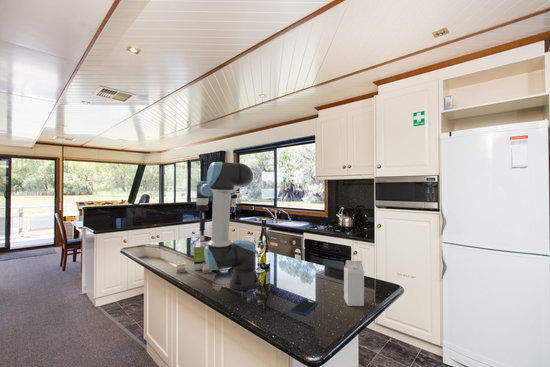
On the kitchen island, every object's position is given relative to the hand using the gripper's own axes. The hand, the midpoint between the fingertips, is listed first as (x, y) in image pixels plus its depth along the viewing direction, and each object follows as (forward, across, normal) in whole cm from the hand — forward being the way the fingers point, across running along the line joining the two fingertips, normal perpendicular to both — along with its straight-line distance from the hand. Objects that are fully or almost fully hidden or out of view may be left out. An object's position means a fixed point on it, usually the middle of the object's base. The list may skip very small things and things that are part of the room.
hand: (202, 240), depth 169 cm
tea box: (+17, 0, 0) cm, 17 cm away
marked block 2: (+17, -12, -2) cm, 21 cm away
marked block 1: (+17, -6, +13) cm, 22 cm away
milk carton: (+18, -80, -59) cm, 101 cm away
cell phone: (+18, -76, -36) cm, 86 cm away
